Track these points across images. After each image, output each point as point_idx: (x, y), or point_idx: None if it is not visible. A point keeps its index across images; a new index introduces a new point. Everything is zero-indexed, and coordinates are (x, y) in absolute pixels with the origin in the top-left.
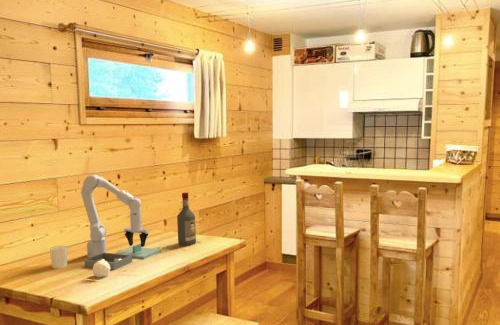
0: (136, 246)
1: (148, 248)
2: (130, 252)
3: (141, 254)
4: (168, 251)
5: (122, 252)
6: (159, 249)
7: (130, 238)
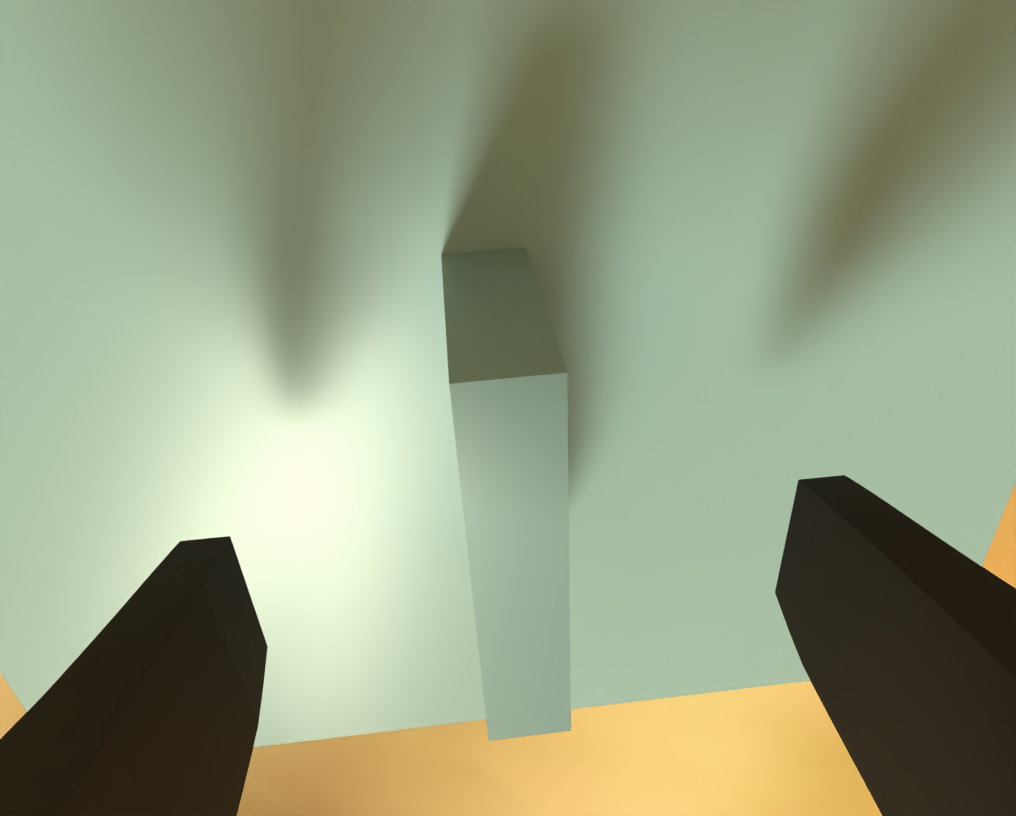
0: (461, 492)
1: (414, 716)
2: (651, 263)
3: (22, 189)
4: None
5: (956, 156)
6: None
7: (1003, 813)
